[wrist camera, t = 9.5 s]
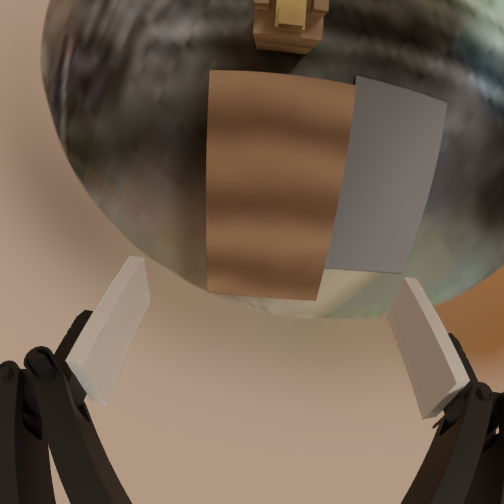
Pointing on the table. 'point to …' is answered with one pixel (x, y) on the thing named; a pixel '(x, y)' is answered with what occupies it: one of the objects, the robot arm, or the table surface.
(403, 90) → the felt mat
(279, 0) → the key
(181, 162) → the table surface
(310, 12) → the toolbox
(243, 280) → the lid
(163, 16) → the table surface
